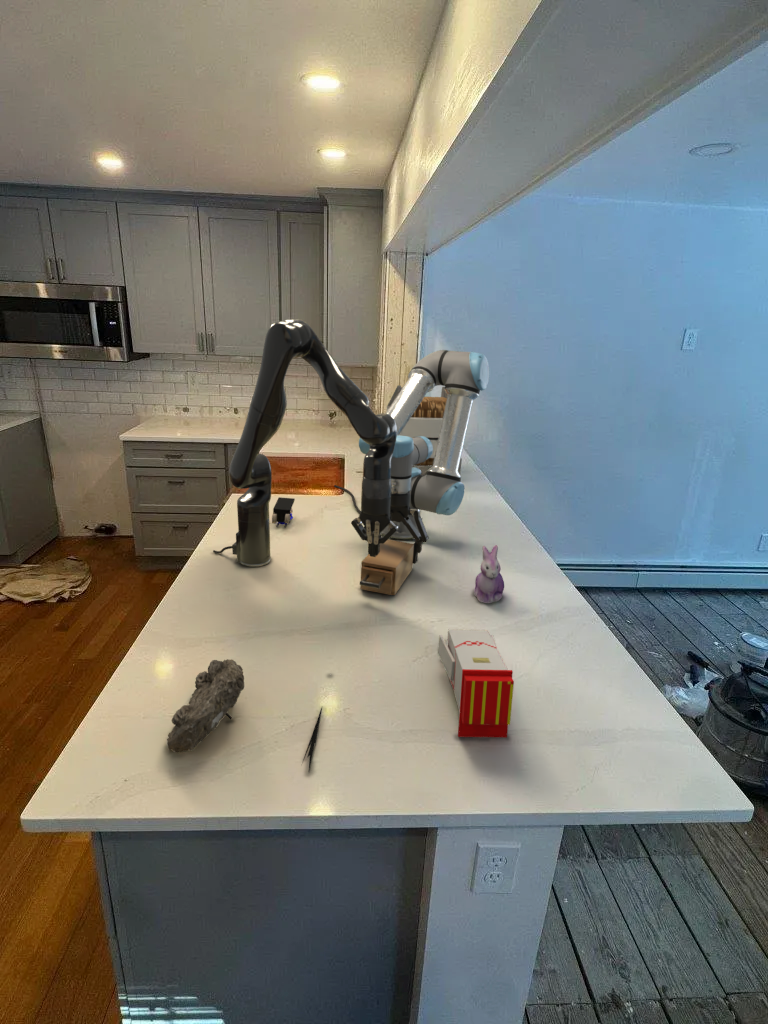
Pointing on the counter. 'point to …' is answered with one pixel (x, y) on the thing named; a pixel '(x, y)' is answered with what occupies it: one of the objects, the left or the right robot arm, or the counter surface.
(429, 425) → the grey tiered rack
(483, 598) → the figurine
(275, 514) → the figurine character
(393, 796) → the counter surface
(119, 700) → the counter surface
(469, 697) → the toy
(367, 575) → the drawer
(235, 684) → the fossil
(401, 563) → the cabinet
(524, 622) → the counter surface
